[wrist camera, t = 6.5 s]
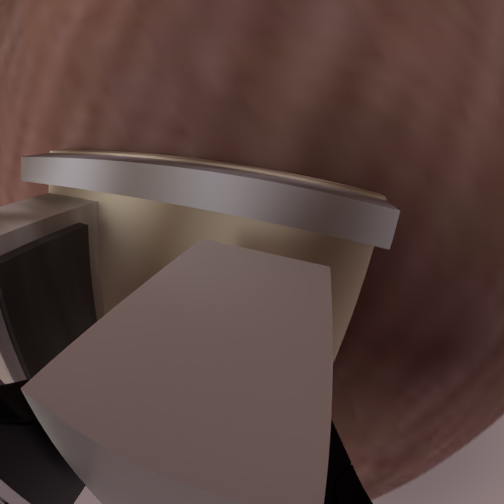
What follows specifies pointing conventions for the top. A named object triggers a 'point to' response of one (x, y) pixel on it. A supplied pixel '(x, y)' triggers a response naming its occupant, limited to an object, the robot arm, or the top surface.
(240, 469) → the block
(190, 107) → the top surface
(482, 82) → the top surface
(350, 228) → the beige clamp block
